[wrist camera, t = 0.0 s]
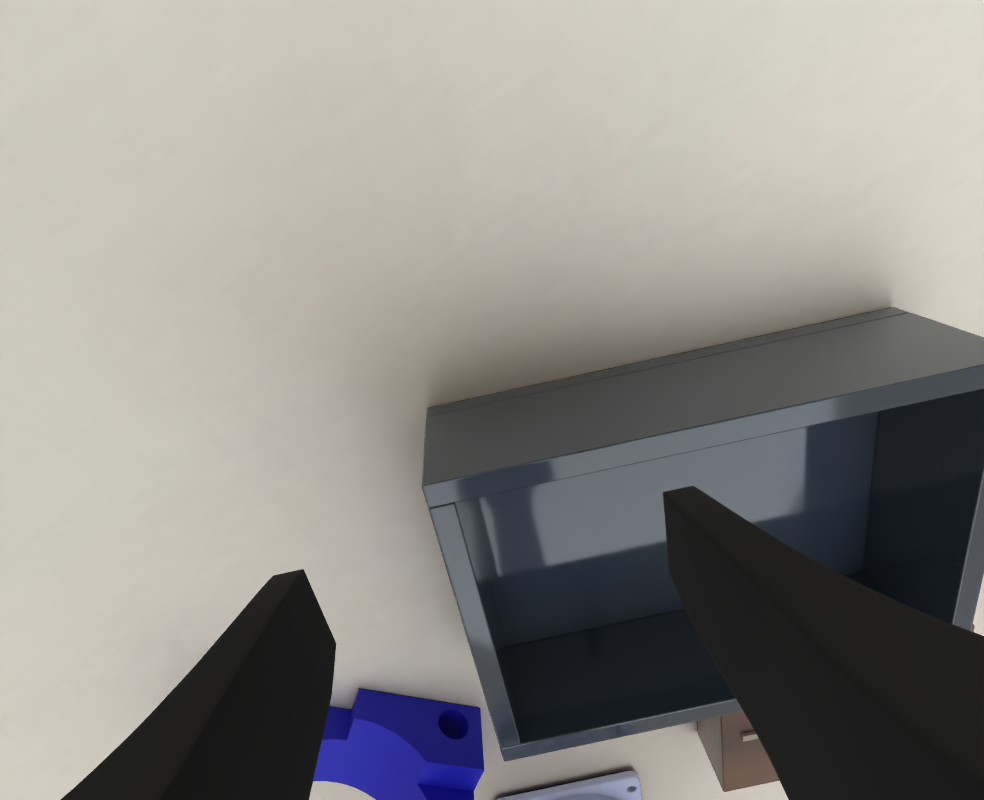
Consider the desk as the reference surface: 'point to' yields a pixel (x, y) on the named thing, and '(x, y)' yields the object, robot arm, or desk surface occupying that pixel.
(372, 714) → the cable clip
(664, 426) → the grey open box
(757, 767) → the block
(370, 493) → the desk surface
